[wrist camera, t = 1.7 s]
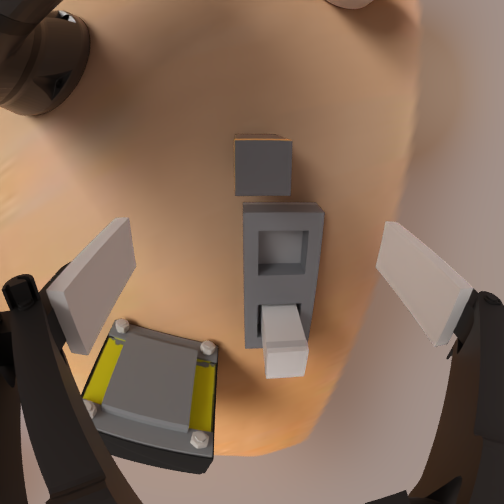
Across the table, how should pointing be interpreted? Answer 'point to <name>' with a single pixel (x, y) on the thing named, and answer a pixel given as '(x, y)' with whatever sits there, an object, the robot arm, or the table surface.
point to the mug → (350, 3)
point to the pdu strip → (280, 260)
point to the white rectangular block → (283, 341)
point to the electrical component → (155, 398)
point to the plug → (262, 165)
